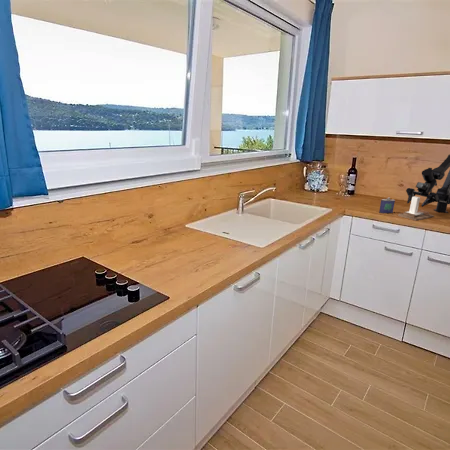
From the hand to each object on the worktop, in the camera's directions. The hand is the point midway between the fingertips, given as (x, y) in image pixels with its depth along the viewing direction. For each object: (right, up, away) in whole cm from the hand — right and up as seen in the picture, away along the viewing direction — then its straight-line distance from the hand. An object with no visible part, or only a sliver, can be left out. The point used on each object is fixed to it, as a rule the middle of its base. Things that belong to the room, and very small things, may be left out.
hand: (414, 204), depth 210 cm
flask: (-13, -5, +10) cm, 17 cm away
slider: (0, -6, +2) cm, 6 cm away
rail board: (+3, -7, +5) cm, 9 cm away
